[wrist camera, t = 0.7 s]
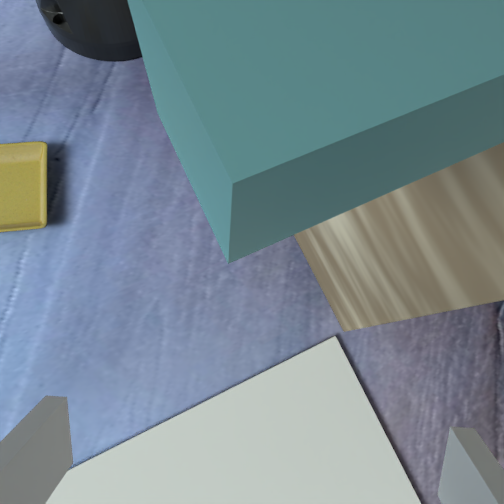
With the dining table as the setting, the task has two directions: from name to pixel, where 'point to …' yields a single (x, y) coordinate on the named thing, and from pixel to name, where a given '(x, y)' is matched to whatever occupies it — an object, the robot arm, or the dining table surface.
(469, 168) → the stand
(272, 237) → the bar
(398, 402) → the dining table surface
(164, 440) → the mat
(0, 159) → the yellow square tray
